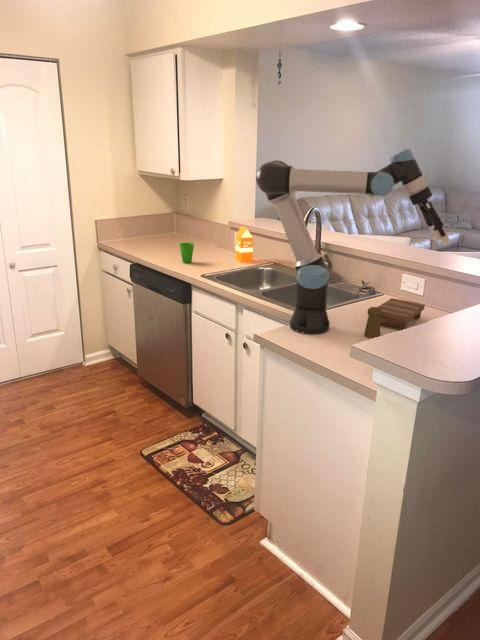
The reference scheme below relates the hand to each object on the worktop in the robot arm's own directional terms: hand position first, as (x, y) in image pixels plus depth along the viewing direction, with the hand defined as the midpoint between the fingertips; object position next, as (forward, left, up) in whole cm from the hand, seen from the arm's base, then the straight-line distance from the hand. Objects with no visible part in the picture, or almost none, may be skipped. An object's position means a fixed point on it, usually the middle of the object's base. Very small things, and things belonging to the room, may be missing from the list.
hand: (443, 242), depth 190 cm
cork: (-27, -3, -34) cm, 43 cm away
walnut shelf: (-9, +10, -34) cm, 36 cm away
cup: (-78, +128, -34) cm, 153 cm away
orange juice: (-44, +127, -34) cm, 138 cm away
